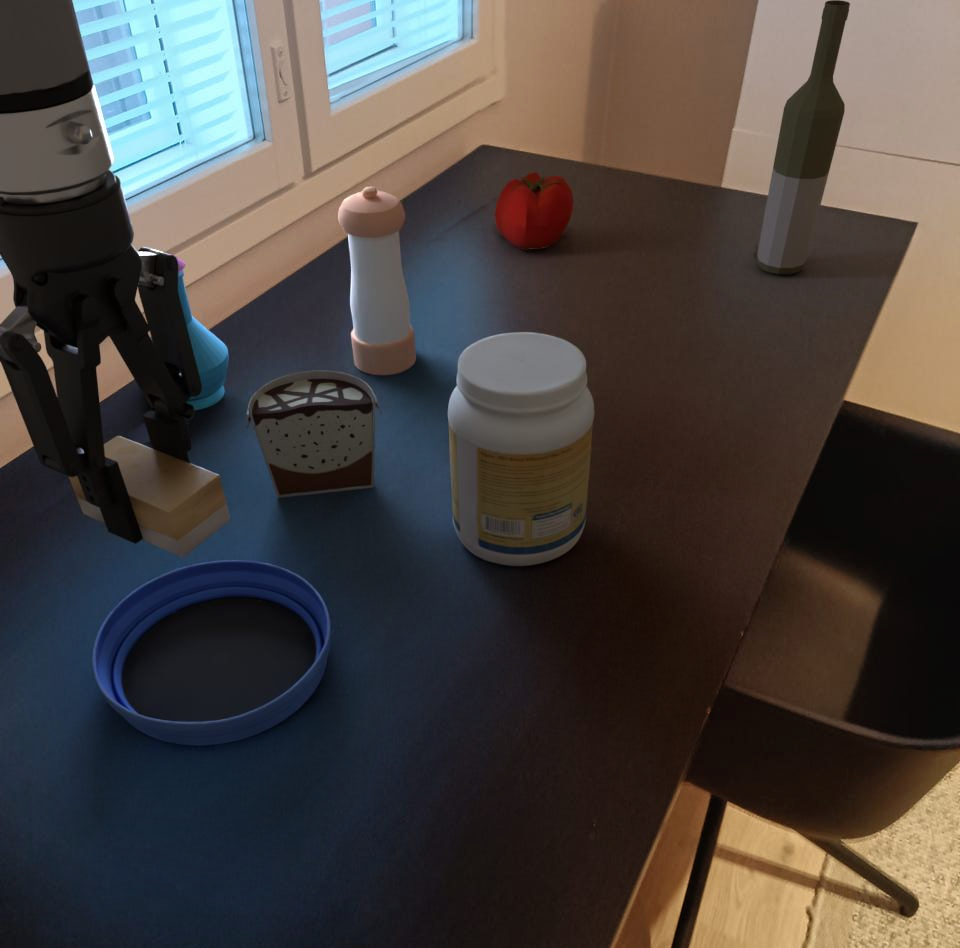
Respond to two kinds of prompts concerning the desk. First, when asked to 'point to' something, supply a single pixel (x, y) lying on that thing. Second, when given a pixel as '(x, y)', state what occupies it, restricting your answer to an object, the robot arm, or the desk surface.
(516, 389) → the supplement tub
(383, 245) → the pepper shaker
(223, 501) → the eraser
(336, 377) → the food container
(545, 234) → the tomato
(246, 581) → the blue ring
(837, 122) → the bottle
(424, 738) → the desk surface
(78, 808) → the desk surface
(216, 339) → the perfume bottle
